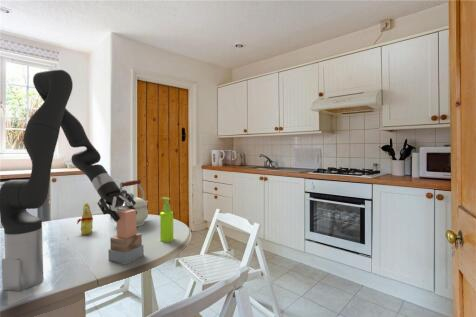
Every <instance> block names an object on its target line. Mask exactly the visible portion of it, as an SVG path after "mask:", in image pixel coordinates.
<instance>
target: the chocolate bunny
mask: <svg viewBox="0 0 476 317" xmlns="http://www.w3.org/2000/svg"><path fill="white" fill-rule="evenodd" d="M82 207H83V208H82V214H81V218H79V219H77V223H76V224H77V225H79V223H80V222H81V223H80V233H81V235H85V236H86V235H90V234H91V233H92V230H93V220H94V218H93V214H92V211H91V208H90V204H89V203H84V204H83V206H82Z"/></svg>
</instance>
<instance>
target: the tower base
mask: <svg viewBox="0 0 476 317" xmlns="http://www.w3.org/2000/svg"><path fill="white" fill-rule="evenodd" d="M144 248H145V247H144V244H142V245H140V246H138V247H136V248H134V249H132V250H130V251H128V252H123V251H118V250H112V249H111V248H109V249H108V261H110V262H113V263H114V262H115V263H119V264H122V265H128V264H129V263H131V262H133V261H135V260H137V259H139V258H141V257H143V256H144V252H145V251H144Z"/></svg>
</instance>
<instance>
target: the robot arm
mask: <svg viewBox="0 0 476 317" xmlns="http://www.w3.org/2000/svg"><path fill="white" fill-rule="evenodd" d="M32 83H33V86H34V88H35V89H36V92H37V93H38V95H39V97H40V98H41V100H42V101H43V103H42V104H41V105H40V107H38V108H37V110H36V111H35V112H34V113H33V114H32V115H31V117H30V118H29V120H28V121H27V123H26V127H25V131H24V133H23V134H24V135H23V138H22V141H23V146H24V148H25V150H26V152H27V154H28V156H29V158H30V161H31V172H30V177H29V179H10V180H7V181H5V182H4V183H2V185H1V187H0V223H1V226H2V228H3V232H4V233H3V234H4V236H3V237H4V257H3V258H1V279H2V280H1V281H2V283H1V285H2V290H5V291H15V292H21V291H22V290H25V289H28V288H32V287H34V286H36V285H38V284H39V283H41V282H43V280H44V250H43V248H44V247H43V220H42V219H41V218H40V217H38V216H36V215H33V214H31V213H30V212H28V210H34V209H36V210H37V209H39V208H41V207H43V205H44V204H45V203H46V200H47V198H48V194H49V188H50V181H51V173H52V166H53V165H52V164H53V159H54V155H55V151H56V148H57V147H56V146H57V143H58V141H59V140H58V139H59V135H60V131H61V129H62V131H63V133H64V135H65V138H66V140H67V142H68V145H69V146H70V147H71V148H81V147H82V148H83V147H85V149H84V150H80V151H78V152H76V153H74V154H72V155H71V157H70V158H71V162H72V164H73V166H74V167H75V168H76V169H78V170H79V171H81V172H82V173H83V174H84V175H85V176H87V178H88V179H89V181H90V182H91V184H92V186H93V189H95V191H96V192H97V194H98V195H99V197H100V199H99V200H98V202H96V203H97V206H98V207H99V209H100V211H101V212H102V214H103V215H108V216H110V215H111V216H110V217H111V218H112V220H113V221H114V222H115V221H116V222H117V221H118V220H119V219H120V217H119V215H118V214H117V212H116V211H114V208H116V207H123V208H124V207H125V208H127V209H133V210H135V208H134V205H135V204H136V202H135V201H134V200H133V198H132V197H131V196H130V195H129V194H130V192H129V193H128V192H127V194H126V195H122V194H121V192H120V186H119V185H118V184H117V183H116V181H115V180H114V179H113V178H112V176H111V175H110V174H109V173H108V171H107V170H106V168H105V167H104V166H103V165H101V164H100V163H99V162H100V161H101V158H102V157H101V154H100V152H99V151H98V149H96V148H95V146H94V144H92V142H91V141H90V139H89V138H88V135H87V134H86V131H85V129H84V126H83V125H82V123H81V121H80V120H79V119H78V118H76V116H74V115H73V113H71V112H70V111H69V110H68V109H67V108H66V107H67V105H68V102H69V100H70V98H71V97H70V96H72V91H73V87H74V86H73V78H72V77H71V75H70V73H69V72H68V71H67V70H64V69H49V70H43V71H38V72H36V73H35V74H33V77H32ZM98 163H99V164H98ZM124 202H126V203H125V204H123V203H124ZM131 202H132V203H131ZM127 204H128V205H130V206H128V205H127ZM136 214H137V211H136ZM116 222H115V223H116Z"/></svg>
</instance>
